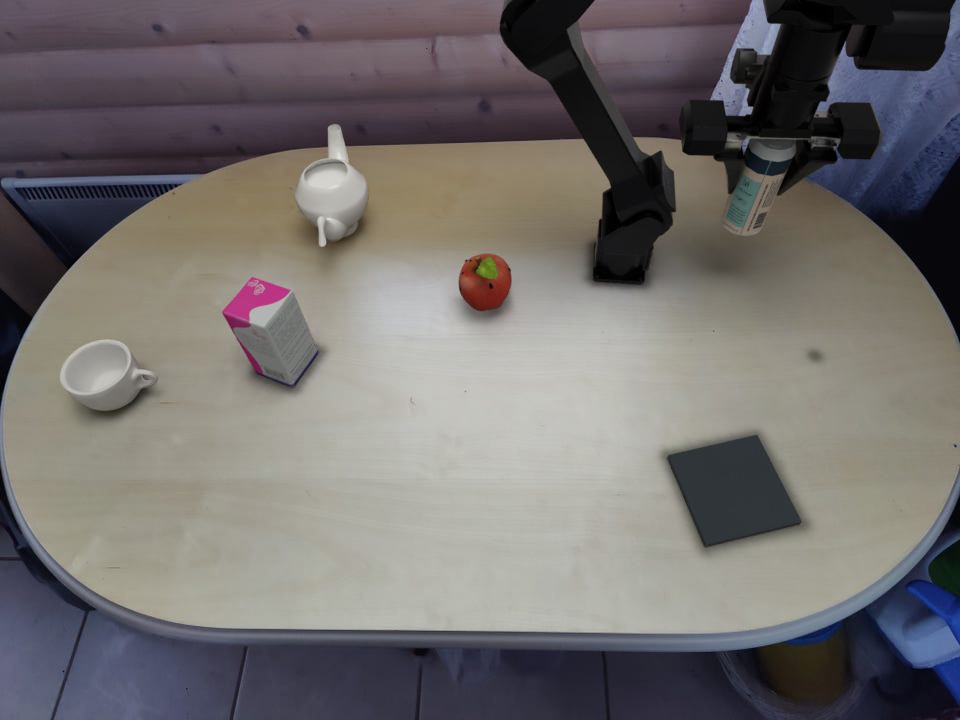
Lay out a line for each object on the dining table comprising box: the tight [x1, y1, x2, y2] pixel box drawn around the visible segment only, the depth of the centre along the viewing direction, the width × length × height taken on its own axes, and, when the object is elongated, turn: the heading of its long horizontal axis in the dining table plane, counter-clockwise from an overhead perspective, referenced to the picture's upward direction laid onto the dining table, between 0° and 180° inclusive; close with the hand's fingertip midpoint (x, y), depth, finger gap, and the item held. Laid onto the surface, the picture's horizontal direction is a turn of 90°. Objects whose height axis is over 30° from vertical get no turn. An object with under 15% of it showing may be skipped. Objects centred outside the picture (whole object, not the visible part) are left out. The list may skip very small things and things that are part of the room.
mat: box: [667, 434, 803, 547], centre depth 70 cm, size 10×10×1 cm
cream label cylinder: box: [720, 139, 796, 237], centre depth 75 cm, size 5×5×12 cm
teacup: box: [59, 339, 159, 412], centre depth 78 cm, size 10×8×5 cm
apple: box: [458, 253, 513, 312], centre depth 81 cm, size 8×7×10 cm
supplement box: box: [221, 276, 319, 388], centre depth 77 cm, size 6×6×12 cm
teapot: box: [294, 123, 370, 248], centre depth 91 cm, size 10×20×9 cm, turn 0°
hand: (753, 192), depth 76 cm, fingers closed on cream label cylinder, 5 cm apart
